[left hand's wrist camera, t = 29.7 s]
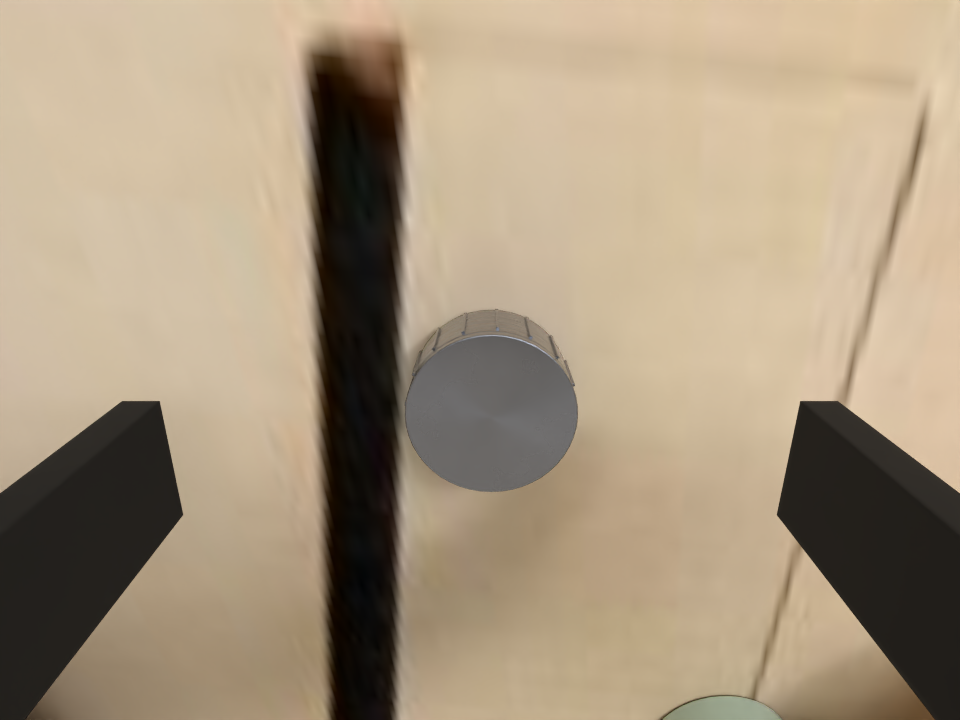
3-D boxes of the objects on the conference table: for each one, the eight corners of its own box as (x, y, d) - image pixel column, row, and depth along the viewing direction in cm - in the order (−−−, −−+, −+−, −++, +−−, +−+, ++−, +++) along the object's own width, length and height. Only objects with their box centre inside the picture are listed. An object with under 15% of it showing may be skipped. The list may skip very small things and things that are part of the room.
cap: (598, 369, 18) (615, 402, 16) (503, 476, 19) (505, 521, 17) (476, 277, 17) (474, 297, 15) (384, 395, 18) (370, 431, 16)
